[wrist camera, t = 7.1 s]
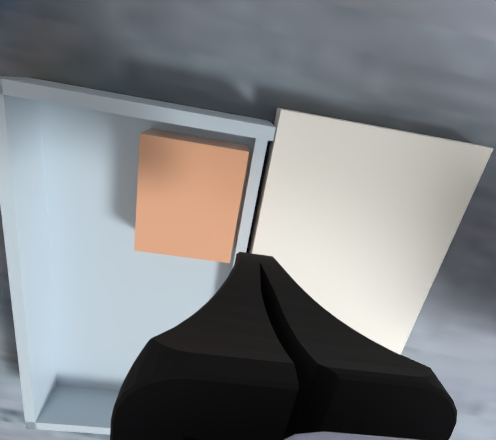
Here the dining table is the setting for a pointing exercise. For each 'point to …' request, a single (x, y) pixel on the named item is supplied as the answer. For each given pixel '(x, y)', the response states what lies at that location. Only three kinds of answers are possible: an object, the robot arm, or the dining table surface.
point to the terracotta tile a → (188, 195)
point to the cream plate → (363, 215)
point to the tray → (96, 241)
